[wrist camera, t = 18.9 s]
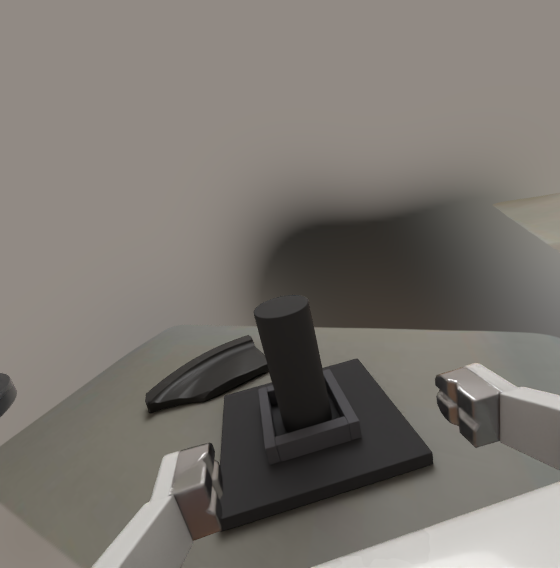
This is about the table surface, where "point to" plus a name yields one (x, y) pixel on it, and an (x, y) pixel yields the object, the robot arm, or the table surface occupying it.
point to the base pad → (312, 447)
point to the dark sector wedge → (209, 375)
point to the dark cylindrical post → (293, 361)
